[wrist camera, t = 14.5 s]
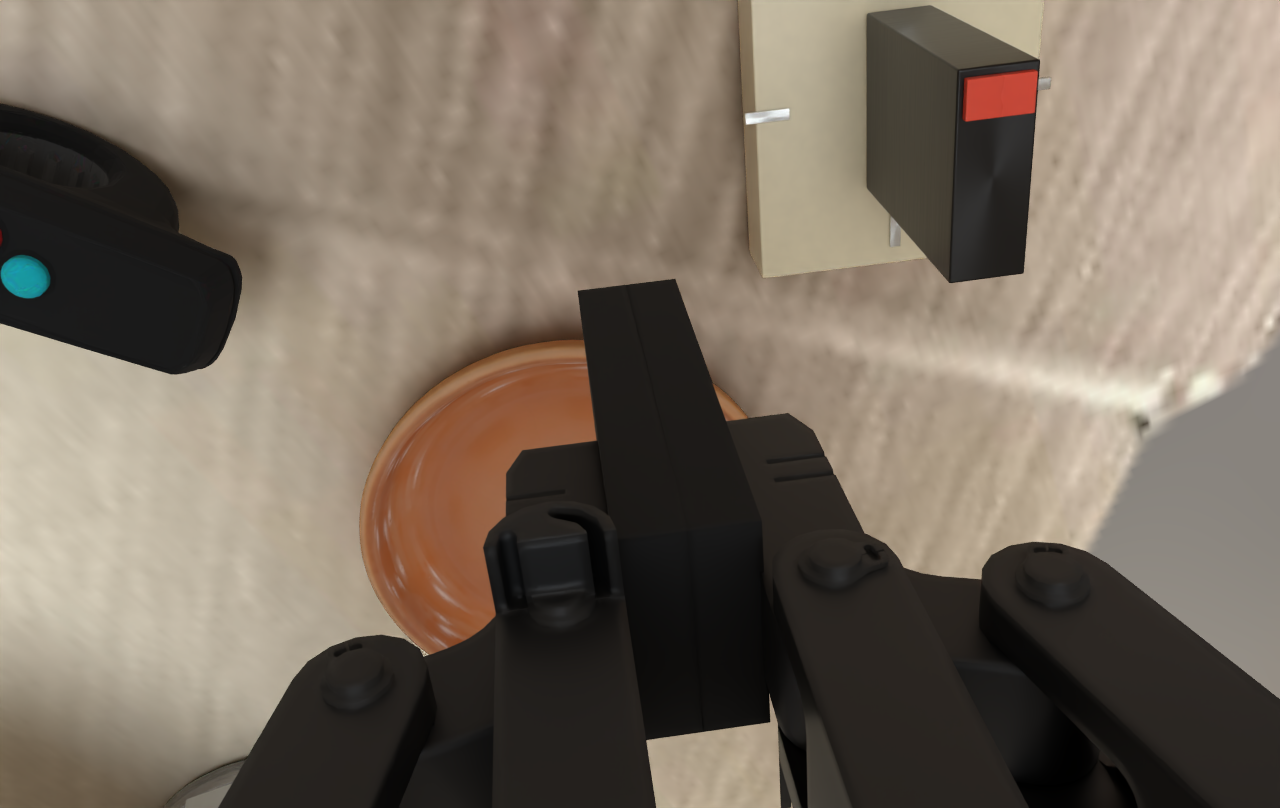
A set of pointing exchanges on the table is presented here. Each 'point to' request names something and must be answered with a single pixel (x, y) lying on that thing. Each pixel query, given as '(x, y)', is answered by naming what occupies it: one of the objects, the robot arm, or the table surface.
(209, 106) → the table surface
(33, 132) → the controller
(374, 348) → the table surface
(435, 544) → the saucer
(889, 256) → the beige flat block
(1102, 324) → the table surface
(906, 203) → the black upright block
